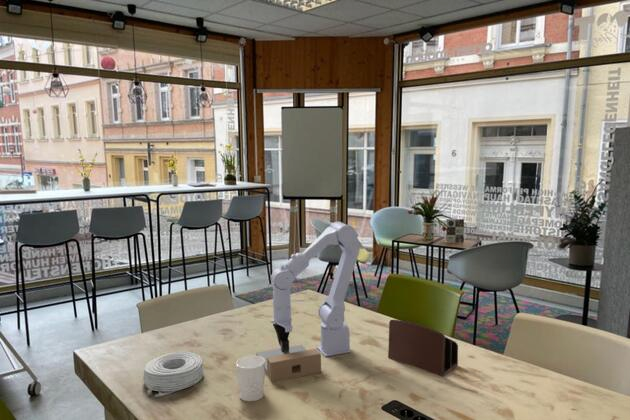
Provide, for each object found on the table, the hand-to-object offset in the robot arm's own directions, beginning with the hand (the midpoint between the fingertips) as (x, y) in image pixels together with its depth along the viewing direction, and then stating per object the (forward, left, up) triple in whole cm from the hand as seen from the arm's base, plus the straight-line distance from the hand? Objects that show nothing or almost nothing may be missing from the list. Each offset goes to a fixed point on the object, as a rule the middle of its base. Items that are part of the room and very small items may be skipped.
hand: (282, 345), depth 149 cm
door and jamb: (0, +5, -4) cm, 7 cm away
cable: (+35, +1, -5) cm, 35 cm away
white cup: (+15, +19, -5) cm, 25 cm away
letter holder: (-41, +20, -5) cm, 46 cm away
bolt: (0, +6, -3) cm, 6 cm away
